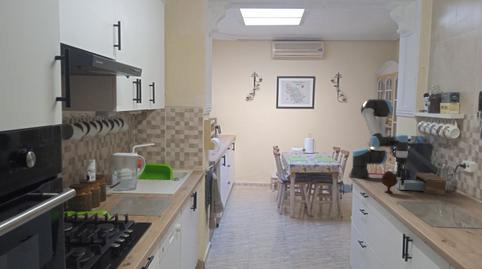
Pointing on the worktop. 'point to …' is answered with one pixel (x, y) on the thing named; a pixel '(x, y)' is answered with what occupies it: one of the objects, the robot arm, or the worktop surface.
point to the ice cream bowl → (389, 181)
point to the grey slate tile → (412, 185)
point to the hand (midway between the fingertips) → (400, 187)
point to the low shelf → (432, 183)
